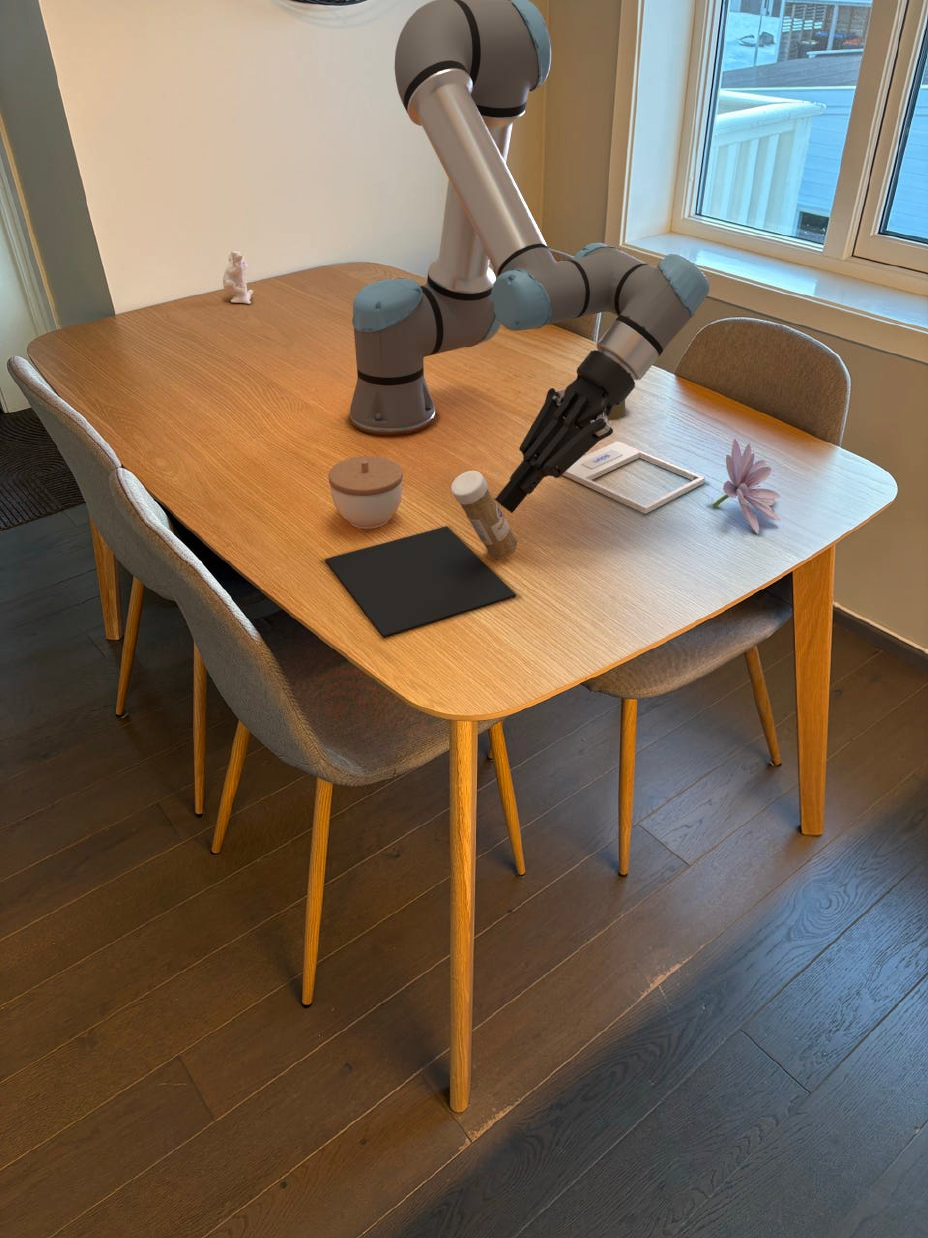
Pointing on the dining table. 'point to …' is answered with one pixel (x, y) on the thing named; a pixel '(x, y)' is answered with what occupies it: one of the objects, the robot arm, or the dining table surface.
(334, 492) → the trinket box
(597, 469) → the photo frame
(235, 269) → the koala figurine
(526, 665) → the dining table surface
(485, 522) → the sprinkles bottle
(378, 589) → the mat
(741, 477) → the water lily
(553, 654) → the dining table surface
